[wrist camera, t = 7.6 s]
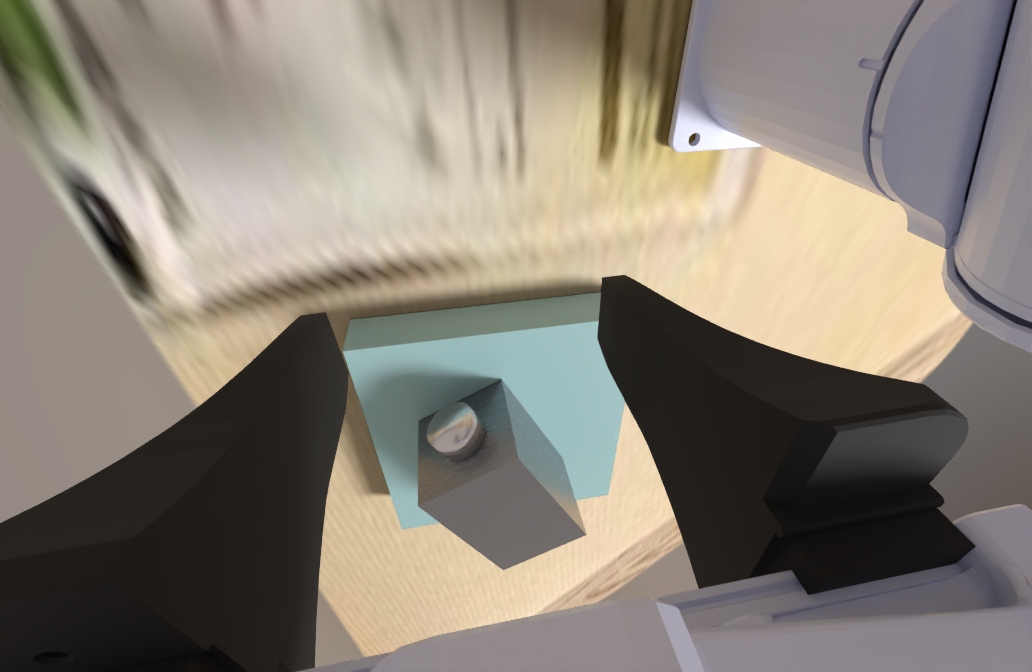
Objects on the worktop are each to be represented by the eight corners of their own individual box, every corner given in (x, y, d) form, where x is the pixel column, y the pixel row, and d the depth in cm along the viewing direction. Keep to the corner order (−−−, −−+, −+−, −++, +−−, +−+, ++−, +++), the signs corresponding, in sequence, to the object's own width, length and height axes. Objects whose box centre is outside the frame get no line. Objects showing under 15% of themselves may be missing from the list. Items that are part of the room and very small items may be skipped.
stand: (621, 289, 23) (640, 316, 22) (596, 465, 33) (608, 494, 31) (349, 319, 22) (342, 351, 20) (403, 495, 31) (402, 529, 29)
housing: (562, 457, 27) (586, 534, 23) (491, 490, 28) (503, 570, 24) (490, 363, 22) (505, 444, 18) (404, 407, 22) (401, 493, 19)
